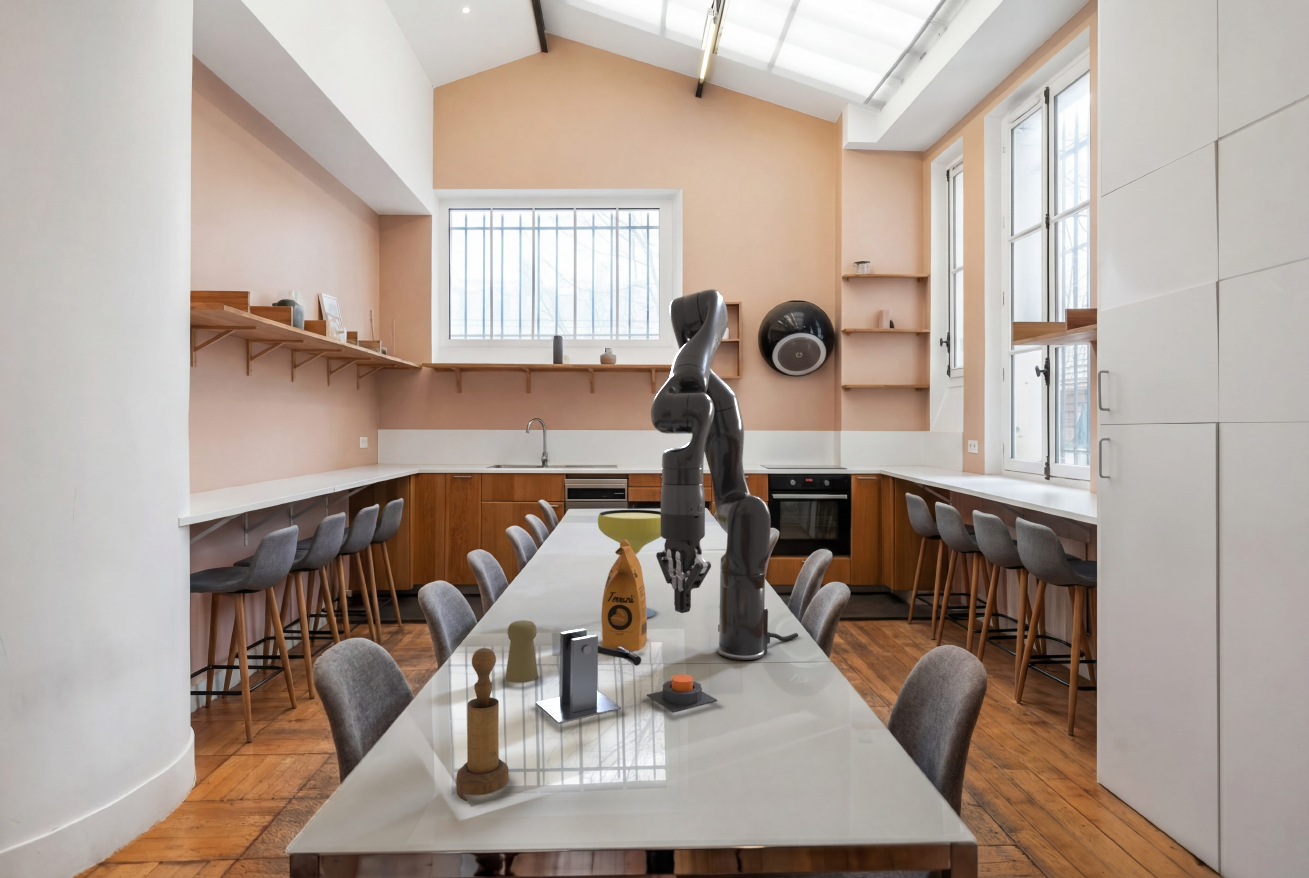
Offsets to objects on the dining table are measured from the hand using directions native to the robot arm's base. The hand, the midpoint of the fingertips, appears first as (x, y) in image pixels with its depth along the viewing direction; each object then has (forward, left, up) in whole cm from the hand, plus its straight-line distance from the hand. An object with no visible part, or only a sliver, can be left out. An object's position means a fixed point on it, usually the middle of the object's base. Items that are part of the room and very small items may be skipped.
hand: (682, 611), depth 117 cm
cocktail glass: (-21, -51, -16) cm, 58 cm away
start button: (0, +1, -13) cm, 13 cm away
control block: (0, +1, -16) cm, 16 cm away
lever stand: (+17, -5, -16) cm, 24 cm away
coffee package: (-6, -30, -16) cm, 35 cm away
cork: (+20, -22, -16) cm, 34 cm away
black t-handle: (+13, -5, -7) cm, 16 cm away
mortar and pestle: (+38, +10, -16) cm, 42 cm away
